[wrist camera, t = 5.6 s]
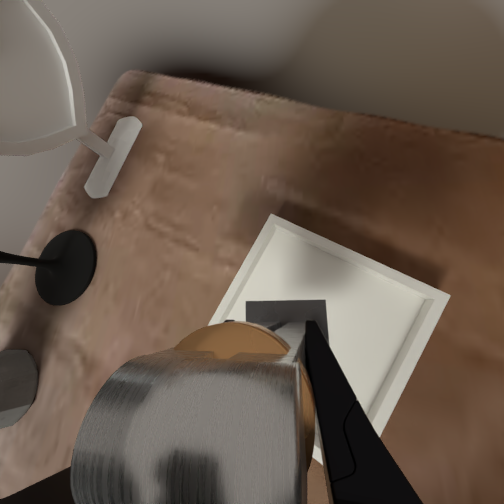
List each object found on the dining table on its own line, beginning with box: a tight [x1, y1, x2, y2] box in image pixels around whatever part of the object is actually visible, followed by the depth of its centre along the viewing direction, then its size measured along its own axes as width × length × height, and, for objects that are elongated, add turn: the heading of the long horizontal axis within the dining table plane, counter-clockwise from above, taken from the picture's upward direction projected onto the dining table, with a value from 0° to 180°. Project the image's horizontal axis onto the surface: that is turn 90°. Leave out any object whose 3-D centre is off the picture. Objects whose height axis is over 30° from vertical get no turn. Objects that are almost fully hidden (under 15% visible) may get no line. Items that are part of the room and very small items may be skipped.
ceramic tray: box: [208, 214, 451, 465], centre depth 21 cm, size 16×16×2 cm
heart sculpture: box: [0, 0, 142, 198], centre depth 26 cm, size 16×5×18 cm, turn 156°
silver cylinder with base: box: [70, 300, 329, 504], centre depth 9 cm, size 5×5×14 cm
